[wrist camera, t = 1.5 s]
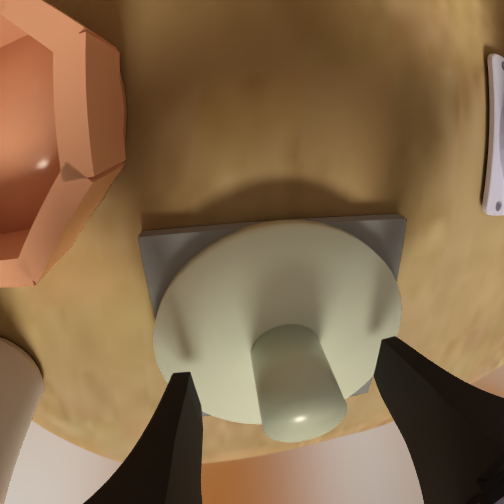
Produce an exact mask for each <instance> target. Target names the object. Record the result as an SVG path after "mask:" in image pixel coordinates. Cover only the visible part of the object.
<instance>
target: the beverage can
mask: <svg viewBox="0 0 504 504" xmlns="http://www.w3.org/2000/svg"><path fill="white" fill-rule="evenodd" d="M43 392H44V382H43V378H42V375H41V373H40V370H39V368H38V367H37V365H36V363H35V362H34V361H33V359H32V358H31V357H30V356H29V355H28V354H27V353H26V352H25V351H24V350H23V349H21V348H20V347H18V346H17V345H15V344H14V343H12V342H10V341H8V340H7V339H4V338H1V337H0V504H4V501H5V498H6V494H7V490H8V486H9V483H10V480H11V476H12V473H13V469H14V467H15V464H16V461H17V458H18V455H19V452H20V449H21V446H22V443H23V441H24V438H25V436H26V433H27V430H28V428H29V425H30V423H31V420H32V418H33V416H34V413H35V411H36V408H37V406H38V404H39V401H40V399H41V397H42V395H43Z"/></svg>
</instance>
